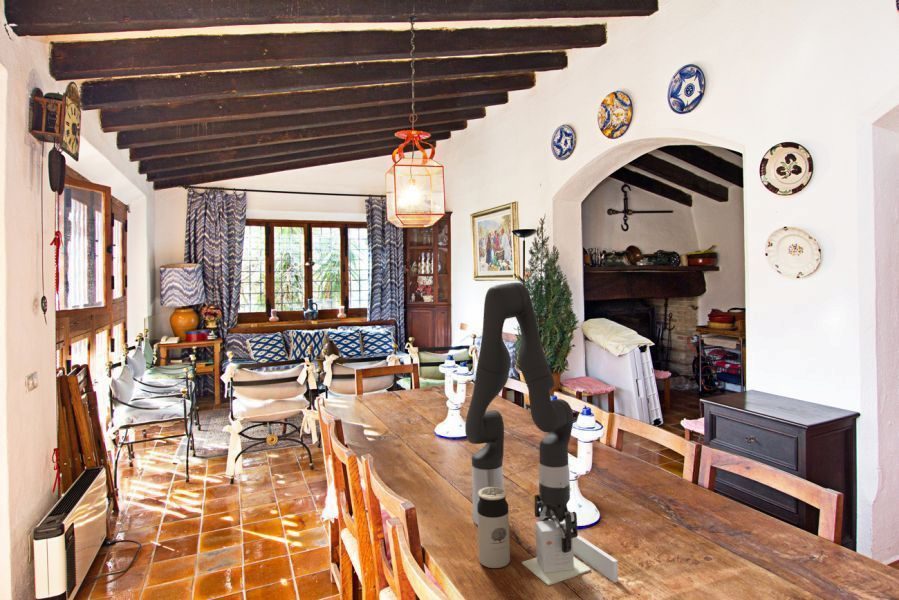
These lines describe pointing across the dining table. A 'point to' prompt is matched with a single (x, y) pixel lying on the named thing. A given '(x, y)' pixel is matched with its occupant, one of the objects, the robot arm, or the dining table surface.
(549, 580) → the sage mat
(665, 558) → the dining table surface
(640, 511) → the dining table surface
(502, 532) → the travel mug
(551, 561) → the small box
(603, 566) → the white wall
